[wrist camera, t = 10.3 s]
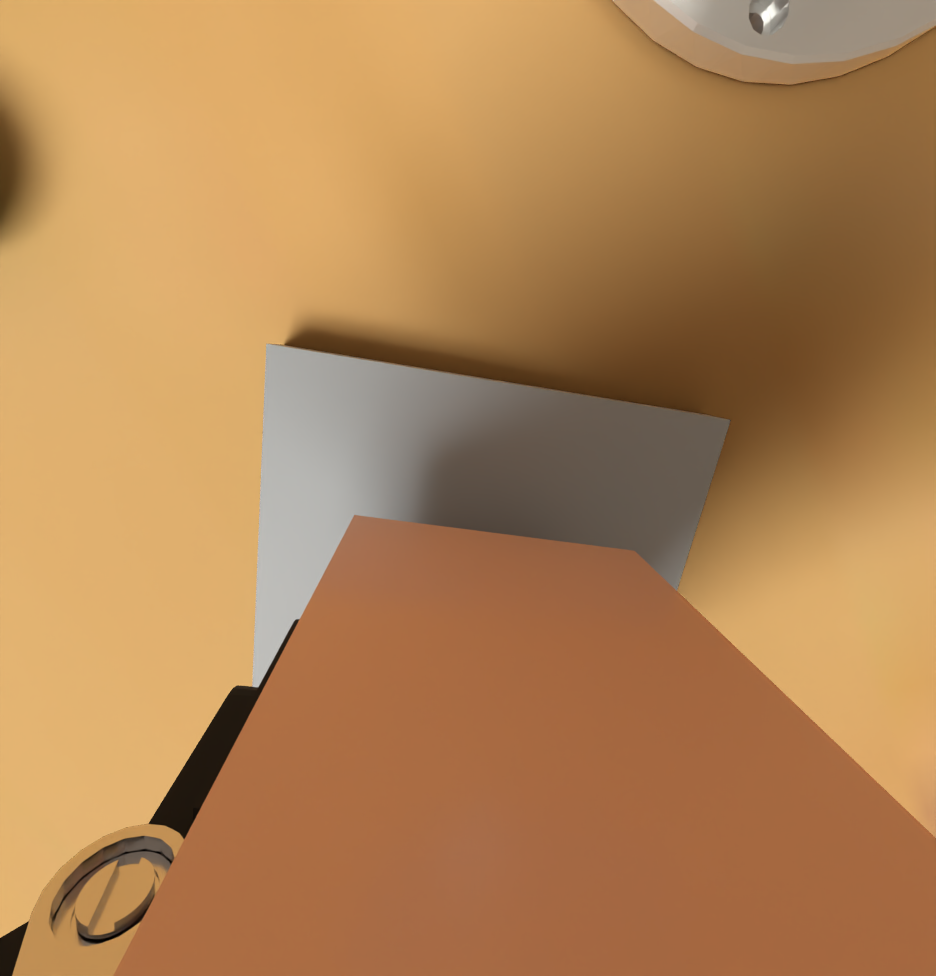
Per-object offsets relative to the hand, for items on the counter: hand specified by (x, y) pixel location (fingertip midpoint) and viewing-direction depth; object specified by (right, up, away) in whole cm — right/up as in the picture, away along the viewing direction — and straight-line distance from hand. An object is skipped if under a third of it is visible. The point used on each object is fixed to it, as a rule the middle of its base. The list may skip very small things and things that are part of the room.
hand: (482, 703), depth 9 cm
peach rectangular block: (0, 0, +2) cm, 2 cm away
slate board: (0, +2, +5) cm, 5 cm away
